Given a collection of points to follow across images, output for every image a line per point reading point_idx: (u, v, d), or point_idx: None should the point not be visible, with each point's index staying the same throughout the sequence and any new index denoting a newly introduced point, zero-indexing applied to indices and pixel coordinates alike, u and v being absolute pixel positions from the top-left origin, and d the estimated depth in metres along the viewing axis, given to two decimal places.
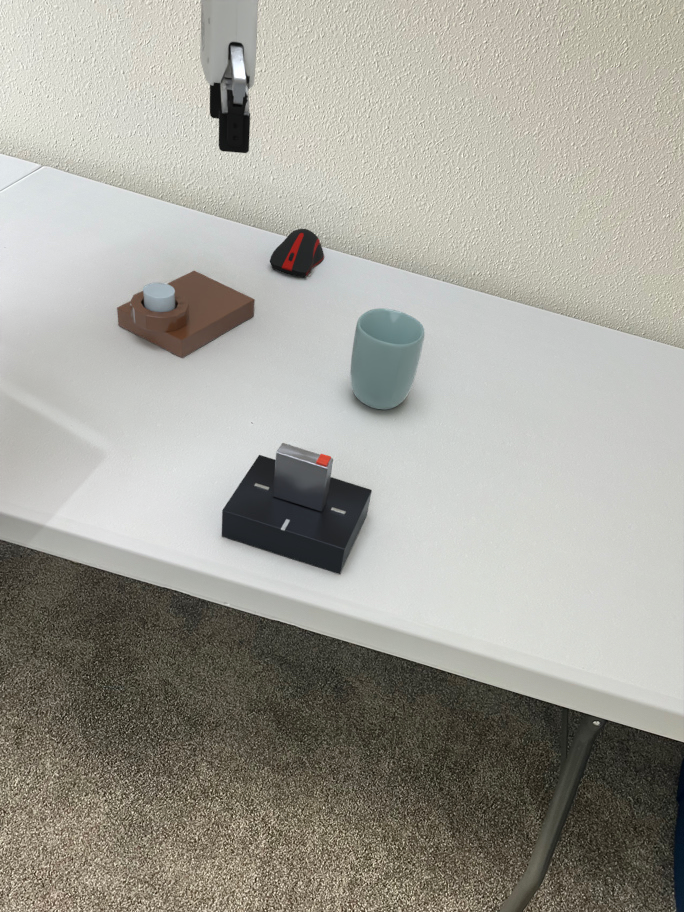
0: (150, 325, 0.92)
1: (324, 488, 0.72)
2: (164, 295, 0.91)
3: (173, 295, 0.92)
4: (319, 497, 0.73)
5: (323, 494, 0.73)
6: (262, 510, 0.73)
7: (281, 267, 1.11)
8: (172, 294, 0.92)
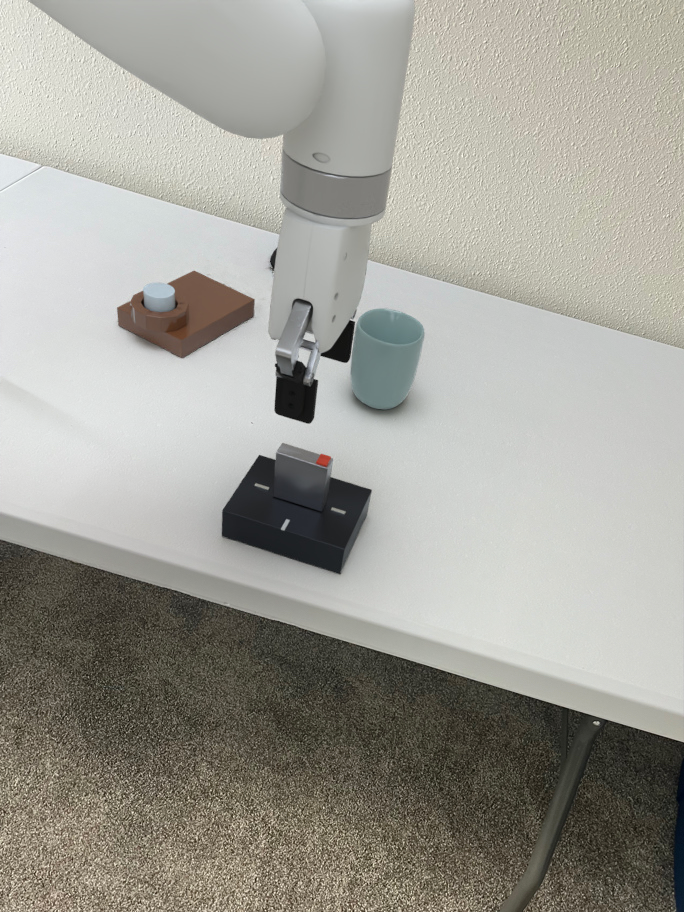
0: (150, 325, 0.92)
1: (324, 488, 0.72)
2: (164, 295, 0.91)
3: (173, 295, 0.92)
4: (319, 497, 0.73)
5: (323, 494, 0.73)
6: (262, 510, 0.73)
7: None
8: (172, 294, 0.92)
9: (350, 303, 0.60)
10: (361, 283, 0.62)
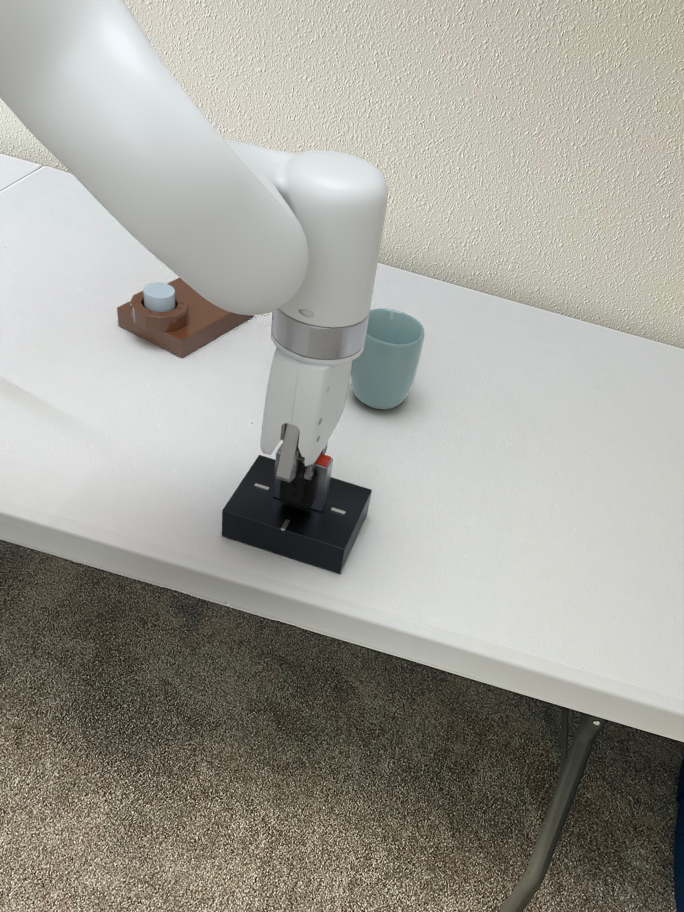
0: (150, 325, 0.92)
1: (324, 488, 0.72)
2: (164, 295, 0.91)
3: (173, 295, 0.92)
4: (319, 497, 0.73)
5: (323, 494, 0.73)
6: (262, 510, 0.73)
7: None
8: (172, 294, 0.92)
9: (333, 420, 0.67)
10: (344, 399, 0.69)
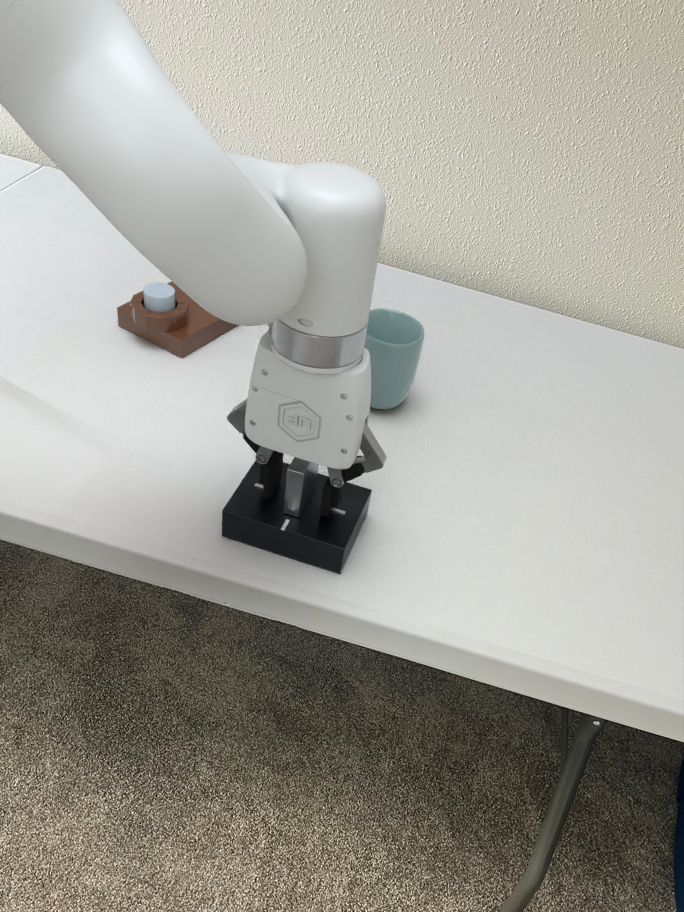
0: (150, 325, 0.92)
1: None
2: (164, 295, 0.91)
3: (173, 295, 0.92)
4: (316, 475, 0.75)
5: (317, 469, 0.75)
6: (262, 510, 0.73)
7: None
8: (172, 294, 0.92)
9: None
10: None
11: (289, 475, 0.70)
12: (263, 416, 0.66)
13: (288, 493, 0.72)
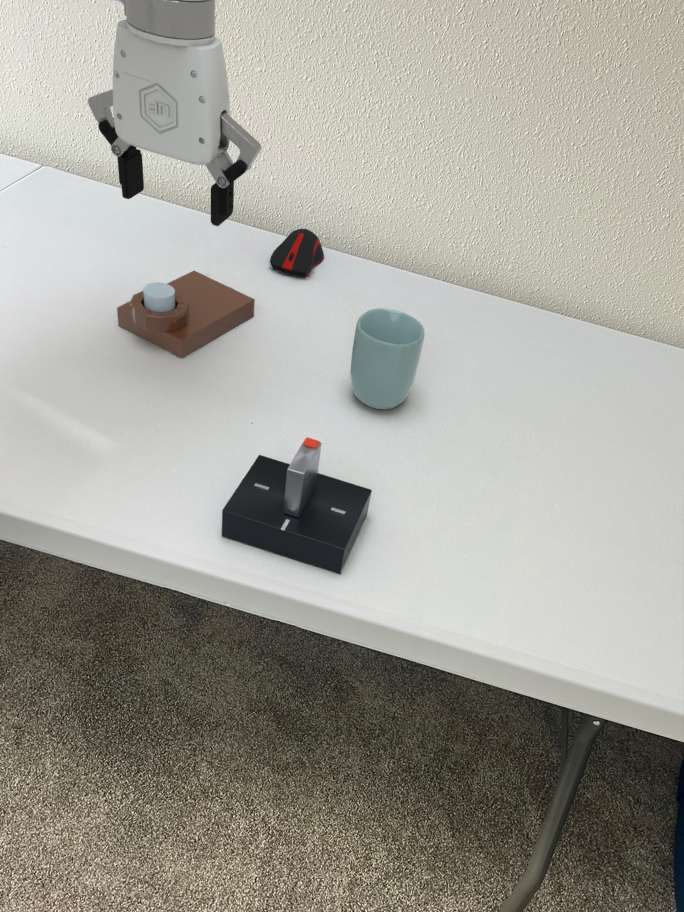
0: (150, 325, 0.92)
1: (318, 463, 0.75)
2: (164, 295, 0.91)
3: (173, 295, 0.92)
4: (316, 475, 0.75)
5: (317, 469, 0.75)
6: (262, 510, 0.73)
7: (281, 267, 1.11)
8: (172, 294, 0.92)
9: None
10: None
11: (289, 475, 0.70)
12: (127, 106, 0.72)
13: (288, 493, 0.72)
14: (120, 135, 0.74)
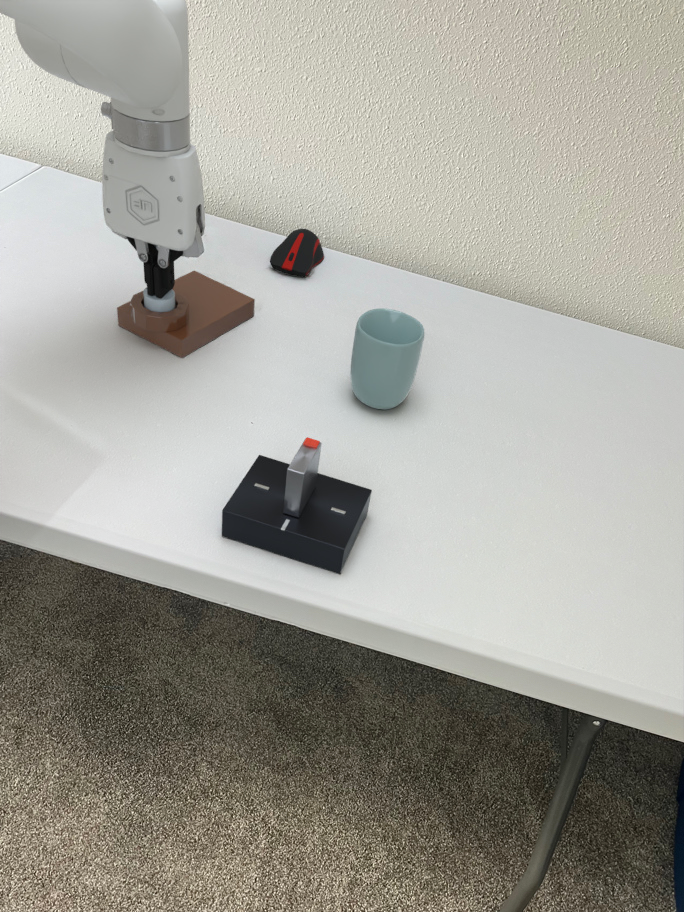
0: (150, 325, 0.92)
1: (318, 463, 0.75)
2: (164, 298, 0.92)
3: (173, 298, 0.92)
4: (316, 475, 0.75)
5: (317, 469, 0.75)
6: (262, 510, 0.73)
7: (281, 267, 1.11)
8: (172, 297, 0.92)
9: None
10: None
11: (289, 475, 0.70)
12: (115, 203, 0.83)
13: (288, 493, 0.72)
14: (109, 225, 0.85)
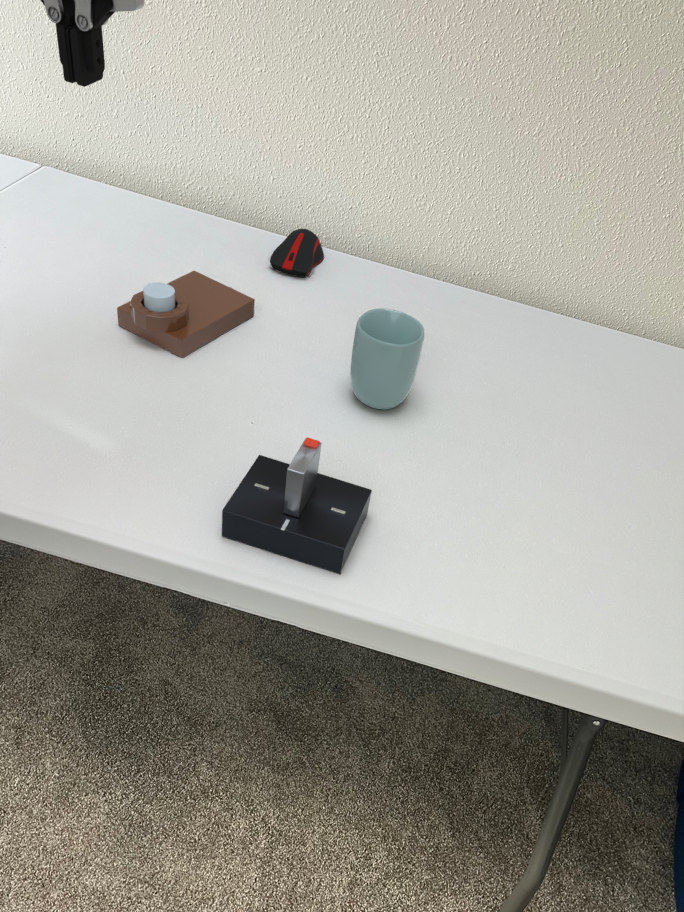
0: (150, 325, 0.92)
1: (318, 463, 0.75)
2: (164, 295, 0.91)
3: (173, 295, 0.92)
4: (316, 475, 0.75)
5: (317, 469, 0.75)
6: (262, 510, 0.73)
7: (281, 267, 1.11)
8: (172, 294, 0.92)
9: None
10: None
11: (289, 475, 0.70)
12: None
13: (288, 493, 0.72)
14: None
